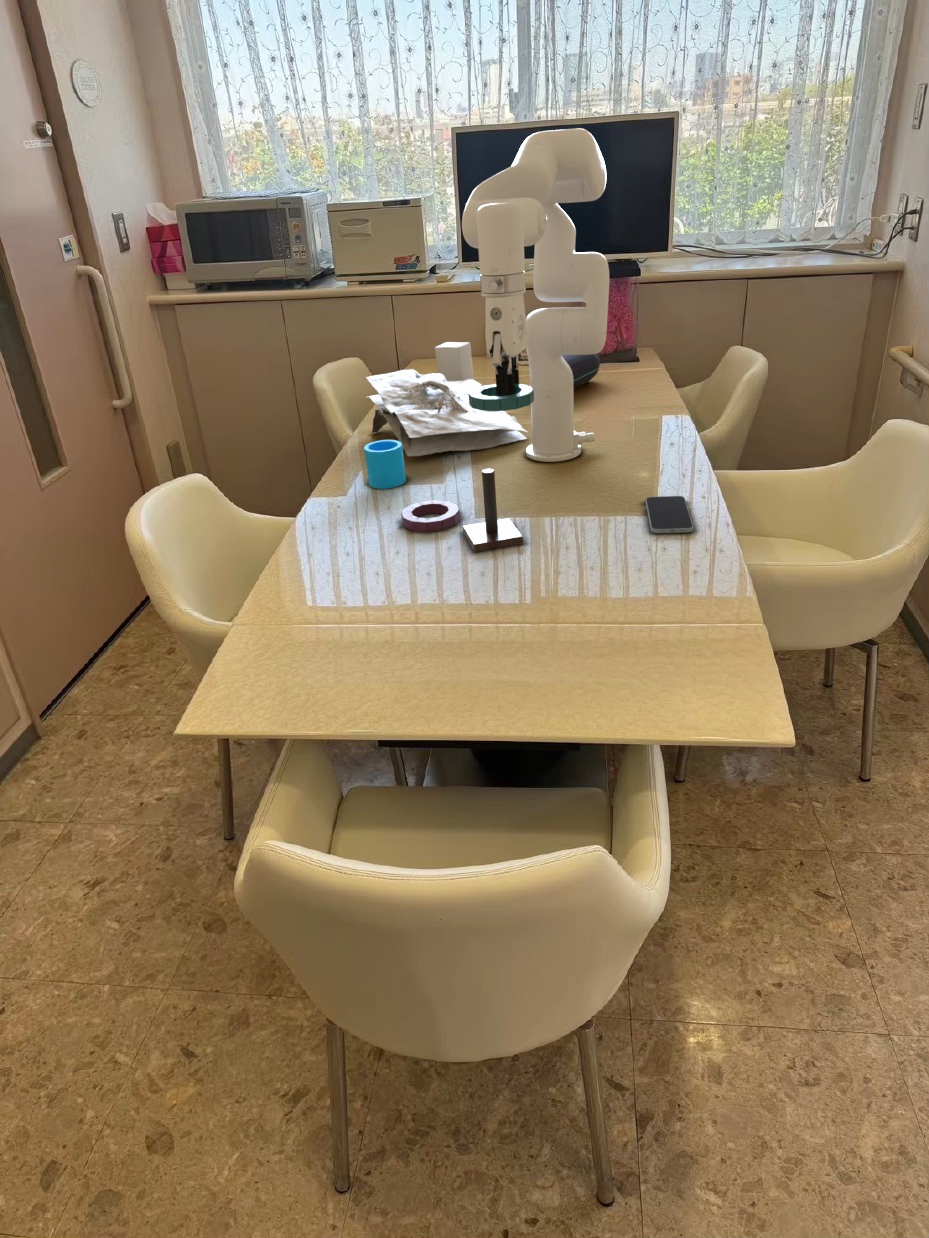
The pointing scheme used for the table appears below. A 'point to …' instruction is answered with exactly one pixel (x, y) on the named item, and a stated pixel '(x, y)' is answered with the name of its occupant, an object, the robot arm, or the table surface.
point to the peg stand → (491, 522)
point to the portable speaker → (582, 367)
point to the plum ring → (430, 524)
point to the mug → (385, 464)
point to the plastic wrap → (437, 414)
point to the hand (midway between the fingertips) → (508, 393)
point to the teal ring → (500, 398)
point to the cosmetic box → (454, 361)
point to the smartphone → (668, 514)
